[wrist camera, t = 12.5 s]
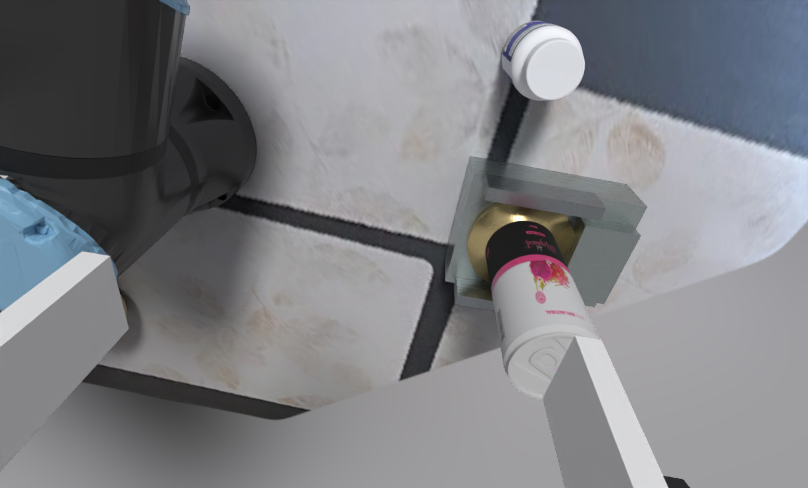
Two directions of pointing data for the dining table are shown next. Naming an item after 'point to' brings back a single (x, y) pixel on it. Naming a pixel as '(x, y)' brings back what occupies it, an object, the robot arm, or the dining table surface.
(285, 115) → the dining table surface
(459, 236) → the brass dish housing
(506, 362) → the beverage can
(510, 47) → the pill bottle
